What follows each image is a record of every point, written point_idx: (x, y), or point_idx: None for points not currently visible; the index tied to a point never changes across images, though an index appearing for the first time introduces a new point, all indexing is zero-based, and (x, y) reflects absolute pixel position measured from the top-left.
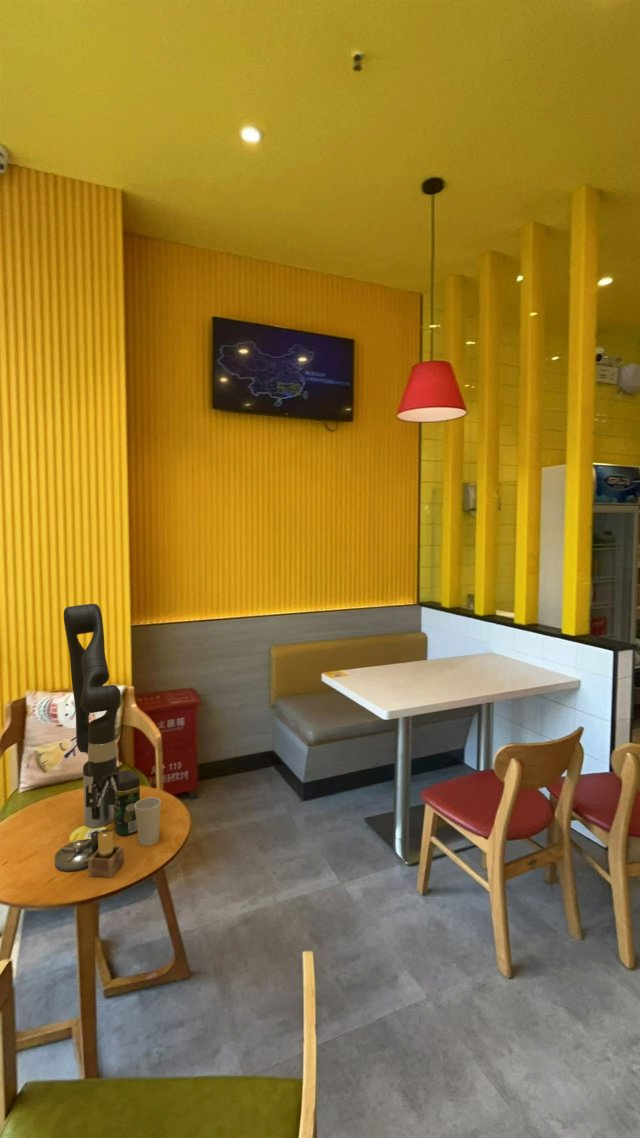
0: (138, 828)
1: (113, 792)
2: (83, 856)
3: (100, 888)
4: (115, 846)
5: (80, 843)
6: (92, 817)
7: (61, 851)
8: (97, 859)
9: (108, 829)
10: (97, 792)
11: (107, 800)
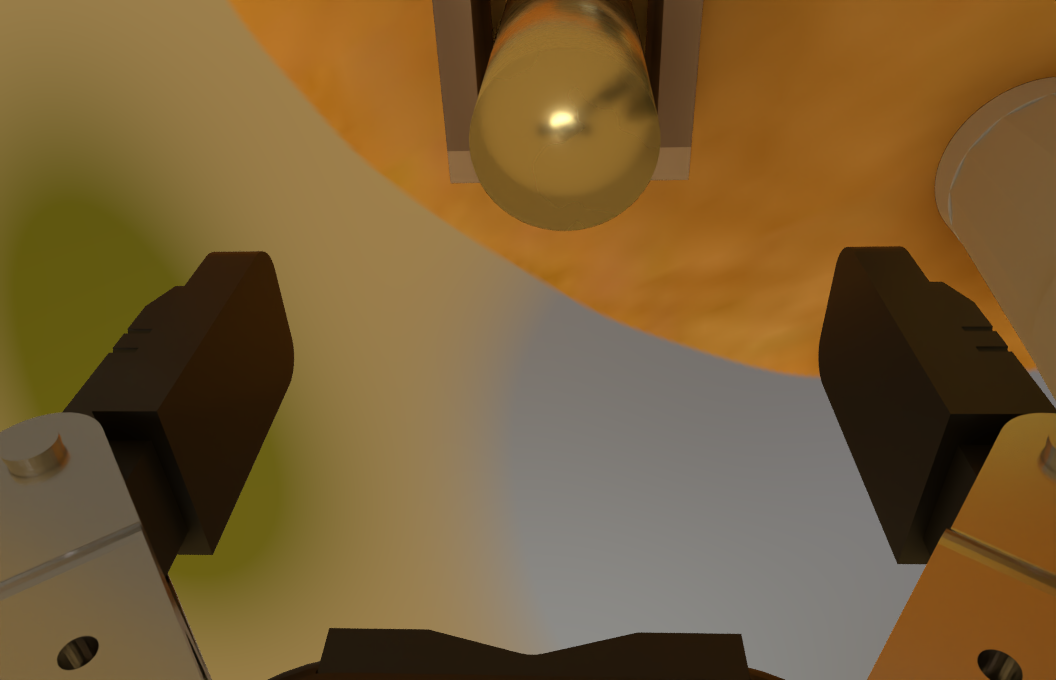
0: (1041, 175)
1: (911, 546)
2: None
3: (336, 97)
4: (692, 96)
5: None
6: (163, 308)
7: None
8: (445, 31)
9: (650, 142)
10: None
11: (870, 285)
